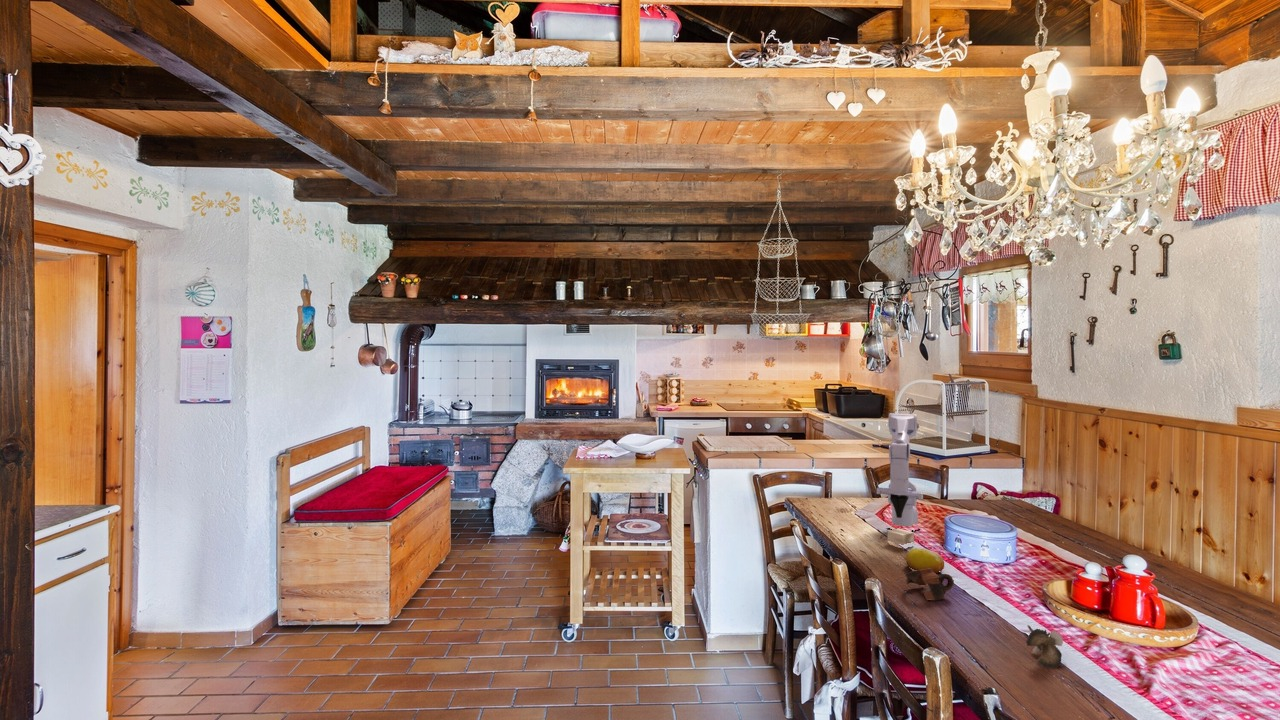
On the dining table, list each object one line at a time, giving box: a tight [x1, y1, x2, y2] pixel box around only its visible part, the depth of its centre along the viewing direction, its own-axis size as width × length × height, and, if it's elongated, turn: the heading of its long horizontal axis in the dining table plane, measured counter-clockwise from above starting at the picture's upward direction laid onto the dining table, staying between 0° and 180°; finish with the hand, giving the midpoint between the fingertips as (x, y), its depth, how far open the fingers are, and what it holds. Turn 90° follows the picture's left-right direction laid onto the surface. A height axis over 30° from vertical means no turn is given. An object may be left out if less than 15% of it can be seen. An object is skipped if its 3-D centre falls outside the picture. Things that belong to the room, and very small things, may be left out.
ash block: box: [887, 528, 915, 545], centre depth 202 cm, size 6×6×5 cm
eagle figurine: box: [1025, 624, 1064, 669], centre depth 127 cm, size 8×7×9 cm
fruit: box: [905, 547, 945, 574], centre depth 179 cm, size 11×10×8 cm
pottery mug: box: [905, 568, 955, 601], centre depth 161 cm, size 12×10×8 cm
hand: (899, 517), depth 200 cm, fingers closed
